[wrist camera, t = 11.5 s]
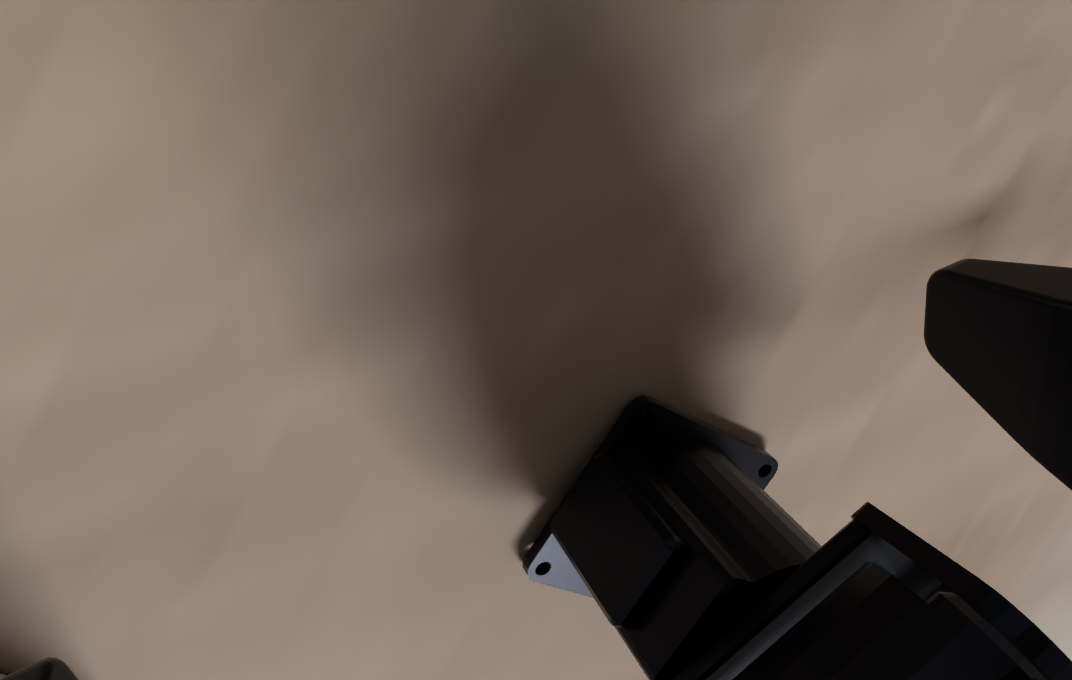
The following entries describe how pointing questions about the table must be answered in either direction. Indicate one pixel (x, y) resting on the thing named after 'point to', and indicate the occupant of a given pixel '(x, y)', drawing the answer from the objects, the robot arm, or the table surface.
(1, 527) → the table surface
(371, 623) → the table surface
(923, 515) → the table surface
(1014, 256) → the table surface
